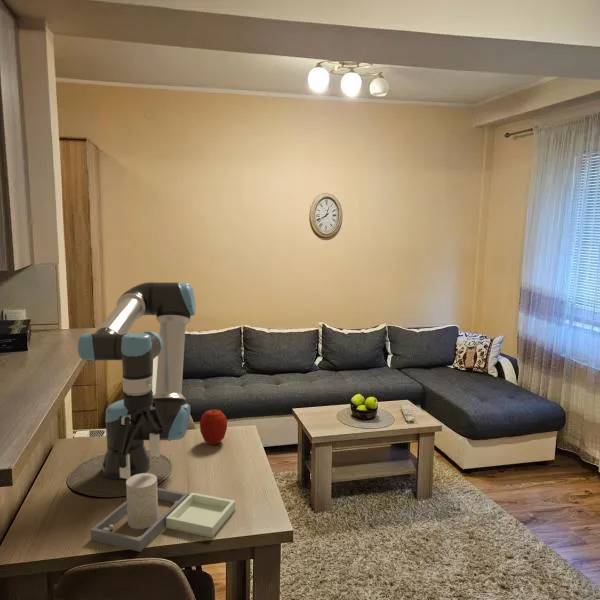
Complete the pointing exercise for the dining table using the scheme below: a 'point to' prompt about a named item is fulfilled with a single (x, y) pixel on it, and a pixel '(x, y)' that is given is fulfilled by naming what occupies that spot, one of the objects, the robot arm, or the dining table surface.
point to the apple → (213, 426)
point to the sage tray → (201, 515)
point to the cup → (142, 500)
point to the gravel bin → (133, 543)
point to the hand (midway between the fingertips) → (140, 466)
